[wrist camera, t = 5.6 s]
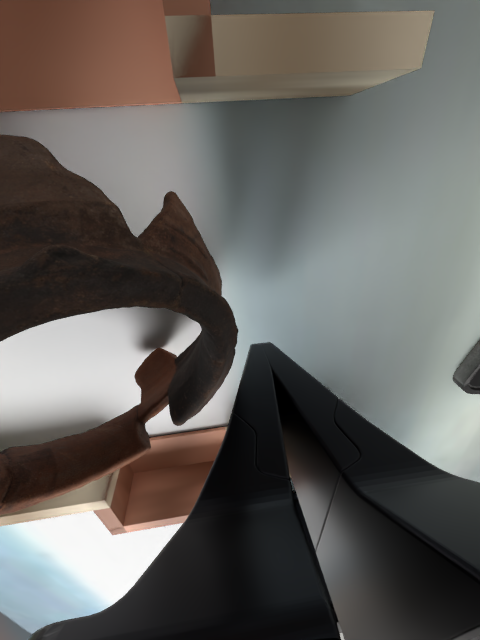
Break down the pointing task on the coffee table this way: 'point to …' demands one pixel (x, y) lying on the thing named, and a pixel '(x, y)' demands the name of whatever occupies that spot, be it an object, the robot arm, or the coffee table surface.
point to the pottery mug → (101, 308)
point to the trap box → (173, 88)
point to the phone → (469, 372)
